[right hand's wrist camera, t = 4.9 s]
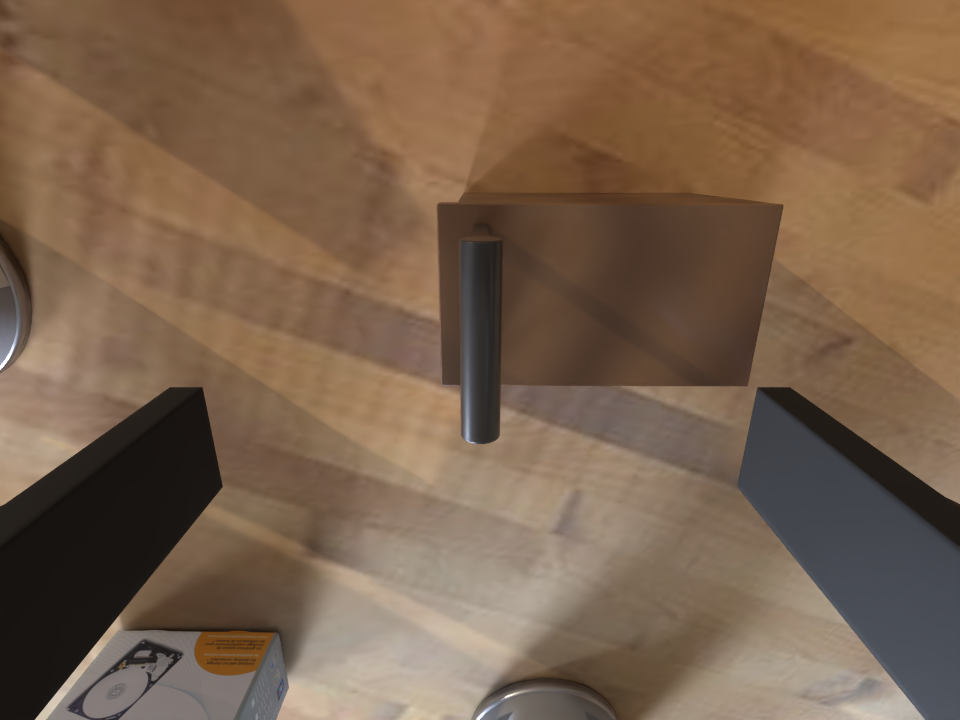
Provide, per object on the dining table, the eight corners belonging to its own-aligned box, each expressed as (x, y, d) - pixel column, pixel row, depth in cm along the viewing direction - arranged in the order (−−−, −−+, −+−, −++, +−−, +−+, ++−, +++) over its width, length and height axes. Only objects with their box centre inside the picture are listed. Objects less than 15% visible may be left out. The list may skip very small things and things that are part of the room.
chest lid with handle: (442, 378, 28) (427, 461, 20) (438, 202, 25) (418, 218, 17) (738, 379, 28) (840, 462, 20) (772, 203, 25) (908, 219, 17)
